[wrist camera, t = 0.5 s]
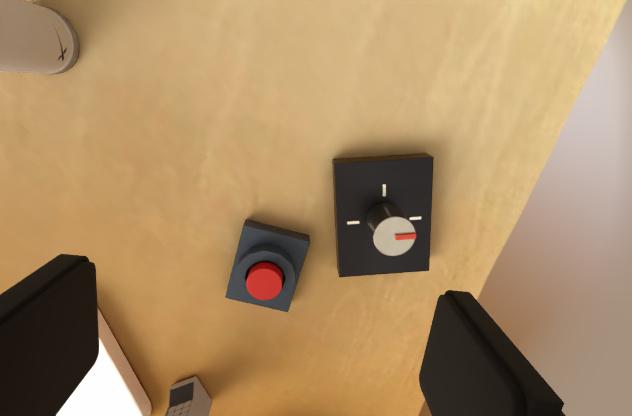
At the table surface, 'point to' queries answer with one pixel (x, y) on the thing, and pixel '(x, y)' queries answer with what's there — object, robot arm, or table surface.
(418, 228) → the panel
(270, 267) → the power button
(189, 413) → the vintage mobile phone
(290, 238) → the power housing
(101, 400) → the computer
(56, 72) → the travel mug
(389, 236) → the hob knob
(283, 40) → the table surface
